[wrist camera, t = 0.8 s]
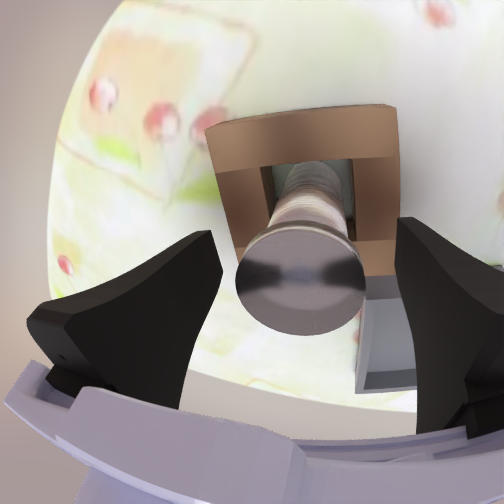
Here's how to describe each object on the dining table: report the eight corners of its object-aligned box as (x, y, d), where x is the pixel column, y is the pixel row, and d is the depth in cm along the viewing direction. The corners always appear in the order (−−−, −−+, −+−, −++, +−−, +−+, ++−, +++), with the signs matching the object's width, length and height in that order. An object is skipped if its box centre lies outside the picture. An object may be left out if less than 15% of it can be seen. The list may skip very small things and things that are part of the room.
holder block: (384, 104, 12) (396, 108, 10) (388, 251, 17) (395, 274, 15) (220, 122, 15) (204, 129, 13) (252, 257, 19) (243, 280, 17)
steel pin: (344, 150, 14) (367, 229, 7) (349, 217, 16) (362, 334, 9) (272, 157, 15) (221, 238, 8) (283, 221, 17) (249, 334, 10)
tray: (501, 265, 15) (515, 286, 13) (463, 360, 21) (468, 381, 19) (362, 274, 18) (365, 300, 16) (355, 371, 24) (354, 393, 22)
